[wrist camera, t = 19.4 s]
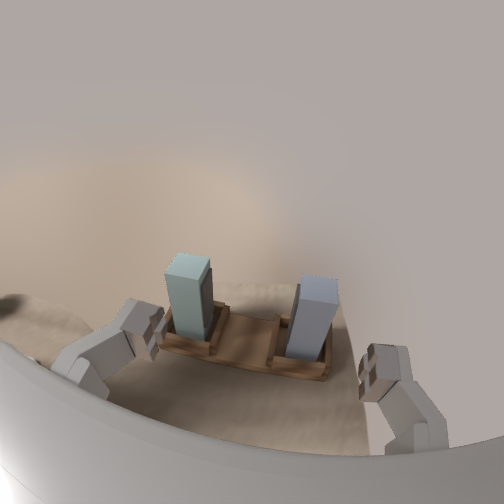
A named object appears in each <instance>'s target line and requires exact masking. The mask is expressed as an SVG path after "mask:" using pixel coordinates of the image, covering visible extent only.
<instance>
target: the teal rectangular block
mask: <svg viewBox="0 0 504 504" xmlns="http://www.w3.org/2000/svg"><path fill="white" fill-rule="evenodd" d="M165 280H166V285H167V290H168V296H169V301H170V306H171V311H172V315H173V320H174V325H175V329H176V334H177V335H180V336H183V337H187V338H191V339H196V340H200V341H204V342H205V341H206V338H207V335H208V333H209V330H210V328H211V325H212V323H213V311H214V305H213V284H212V268H210V258H208V257H202V256H197V255H191V254H185V253H180V252H178V253H177V255H176V256H175V258H174V259H173V261H172V262H171V264H170V265H169V267H168V269H167V270H166V271H165Z"/></svg>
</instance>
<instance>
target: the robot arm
mask: <svg viewBox="0 0 504 504" xmlns="http://www.w3.org/2000/svg"><path fill="white" fill-rule="evenodd" d="M164 314H165V312H164V308H163V307H159V306H156V305H152V304H149V303H146V302H143V301H139V300H136V299H132V298H129V299H128V300H126V302H125V303H124V305H123V306H122V308H121V309H120V310H119V312H118V313H117V315H116V316H115V318H114V320H113V321H112V322H111V324H110V325H105V326H104V327H102V328H100V329H98V330H96V331H94V332H92V333H90V334H88V335H87V336H85V337H83V338H81V339H79V340H77V341H75V342H73V343H71V344H70V345H68V346H66V347H64V348H63V349H62V351H61V352H60V354H59V355H58V357H57V359H56V360H55V362H54V363H53V365H52V366H51V368H50V369H49V370H48V369H46V368H44V367H43V366H41V365H39V364H38V363H37V361H36V360H35V359H34V358H32V357H29V356H26V355H24V354H22V353H21V352H19V351H18V350H17V349H16V348H15V347H14V346H13V345H12V344H11V343H10V342H8V343H7V342H6V341H4V340H2V339H0V504H504V436H502V437H498V438H494V439H490V440H487V441H483V442H479V443H474V444H470V445H465V446H460V447H454V448H449V443H448V432H447V424H446V419H445V418H444V417H443V415H442V414H441V413H440V411H439V410H438V409H437V407H436V406H435V405H434V404H433V402H432V401H431V400H430V398H429V397H428V396H427V395H426V393H425V392H424V391H423V389H422V388H421V387H420V386H419V384H418V383H417V382H416V381H413V377H412V371H411V365H410V359H409V353H408V349H407V347H405V346H394V345H384V344H370V345H369V347H368V349H367V350H368V353H367V354H365V355H363V357H362V359H361V361H360V364H359V371H358V377H359V379H360V380H361V381H362V383H361V384H360V386H359V401H364V402H378V405H379V407H380V409H381V410H382V412H383V414H384V416H385V417H386V419H387V421H388V423H389V425H390V426H391V429H392V430H393V432H394V434H395V436H396V438H395V439H394V440H392V441H391V442H389V443H388V444H387V445H386V446H385V455H379V456H341V455H321V454H308V453H298V452H289V451H281V450H274V449H268V448H261V447H256V446H250V445H245V444H240V443H235V442H230V441H226V440H222V439H217V438H213V437H209V436H206V435H202V434H198V433H195V432H191V431H188V430H184V429H181V428H178V427H175V426H171V425H168V424H165V423H162V422H159V421H157V420H154V419H151V418H148V417H146V416H143V415H140V414H138V413H135V412H133V411H130V410H128V409H125V408H123V407H120V406H118V405H116V404H113V403H111V402H109V401H107V398H108V396H109V394H110V391H109V388H108V387H107V386H106V384H105V383H104V382H103V381H105V380H106V379H107V378H109V377H110V376H111V375H113V374H114V373H116V372H117V371H118V370H120V369H121V368H122V367H124V366H125V365H127V364H128V363H129V362H131V361H132V360H133V359H135V357H136V358H139V359H143V360H146V361H149V362H153V361H154V359H155V357H156V355H157V353H158V351H159V348H158V344H160V343H162V342H163V341H164V339H165V337H166V334H167V329H168V324H167V320H166V319H165V318H164V317H163V316H164Z"/></svg>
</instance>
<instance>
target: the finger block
mask: <svg viewBox="0 0 504 504" xmlns="http://www.w3.org/2000/svg"><path fill="white" fill-rule="evenodd" d="M337 285H338V284H337V279H333V278H327V277H321V276H314V275H308V274H302V278H301V283H300V284H298V285H297V289H296V294H295V299H294V303H293V307H292V312H291V316H290V320H289V325H288V332H287V339H286V344H287V347H286V354H285V358H292V359H298V360H305V361H313V362H316V359H317V357H318V355H319V352H320V350H321V348H322V345H323V343H324V340H325V338H326V335H327V333H328V330H329V328H330V325H331V323H332V320H333V318H334V315H335V312H336V310H337V307H338V286H337Z"/></svg>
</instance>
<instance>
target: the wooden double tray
mask: <svg viewBox="0 0 504 504" xmlns="http://www.w3.org/2000/svg"><path fill="white" fill-rule="evenodd" d="M213 305H214V311H213V323H212V325H211V328H210V330H209V333H208V335H207V338H206V341H205V342H204V341H200V340H196V339H191V338H187V337H183V336H180V335H177V334H176V329H175V325H174V320H173V315H172V311H171V306H170V308H169V310H168V312H167V313H166V315H165V317H164V318H165V319H166V320H167V324H168V329H167V334H166V337H165V339H164V341H163V342H162V343H160V344H159V347H160V348H161V349H164V350H168V351H171V352H175V353H179V354H182V355H186V356H190V357H194V358H198V359H202V360H206V361H210V362H214V363H219V364H223V365H228V366H233V367H237V368H242V369H247V370H252V371H258V372H263V373H269V374H275V375H281V376H287V377H294V378H301V379H309V380H317V381H325V380H326V378H327V374H328V372H329V370H330V368H331V363H332V323H331V325H330V328H329V330H328V333H327V335H326V338H325V340H324V343H323V345H322V348H321V350H320V352H319V355H318V357H317V359H316V362H313V361H305V360H298V359H292V358H285V354H286V347H287V344H286V339H287V332H288V325H289V320H290V316H291V315H289V314H283V313H281V315H276V314H275V318H274V321H268V320H263V319H257V318H251V317H246V316H241V315H236V314H230V306H227V305H225V303H222V302H217V301H213Z"/></svg>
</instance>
